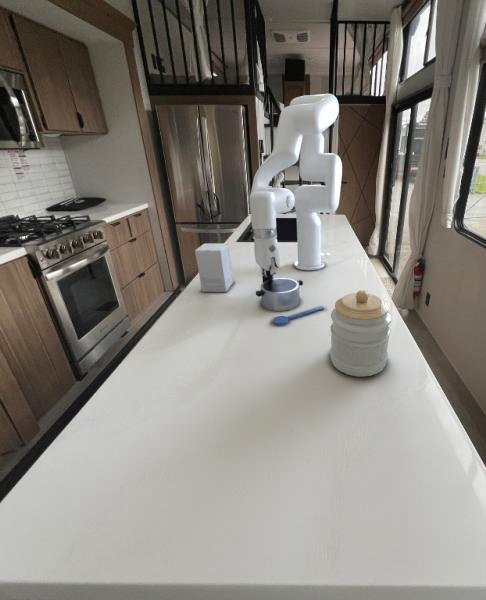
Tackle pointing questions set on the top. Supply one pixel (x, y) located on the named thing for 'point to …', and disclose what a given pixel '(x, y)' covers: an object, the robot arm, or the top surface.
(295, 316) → the spoon
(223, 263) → the white product box
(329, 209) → the robot arm
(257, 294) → the pot
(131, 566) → the top surface
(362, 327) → the jar
